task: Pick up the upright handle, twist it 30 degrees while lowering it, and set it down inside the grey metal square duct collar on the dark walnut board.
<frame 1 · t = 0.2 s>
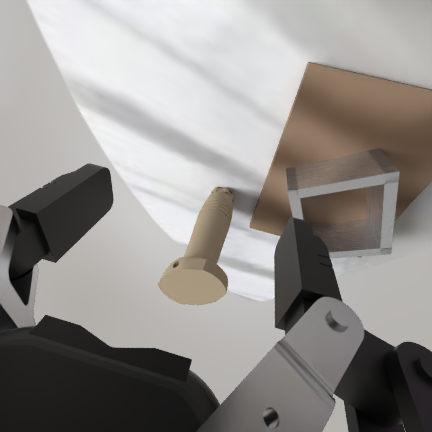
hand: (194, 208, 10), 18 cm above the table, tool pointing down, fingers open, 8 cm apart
walnut board: (339, 178, 26), on the table
handle: (222, 194, 31), on the table
duct collar: (330, 192, 28), resting on walnut board
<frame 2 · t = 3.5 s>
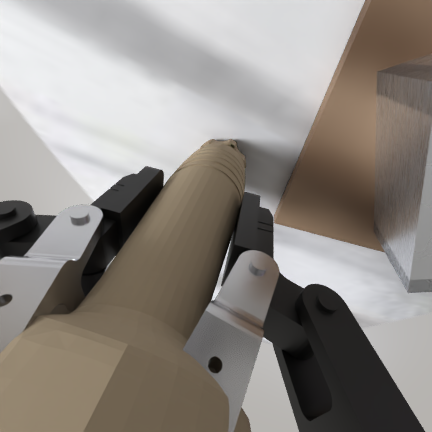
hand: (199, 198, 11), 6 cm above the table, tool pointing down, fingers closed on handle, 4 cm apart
handle: (223, 157, 16), on the table, touching gripper
when the fingers open (9 cm above the table, at t = 10.3 s): handle drops 1 cm, resting on walnut board.
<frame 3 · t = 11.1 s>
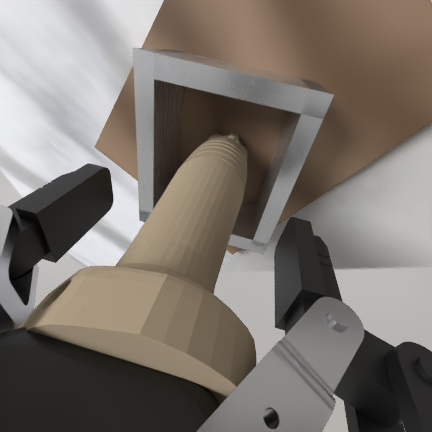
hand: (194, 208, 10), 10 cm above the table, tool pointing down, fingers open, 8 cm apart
walnut board: (246, 120, 16), on the table
handle: (226, 150, 17), point 1 cm above the table, touching walnut board
duct collar: (228, 140, 18), resting on walnut board
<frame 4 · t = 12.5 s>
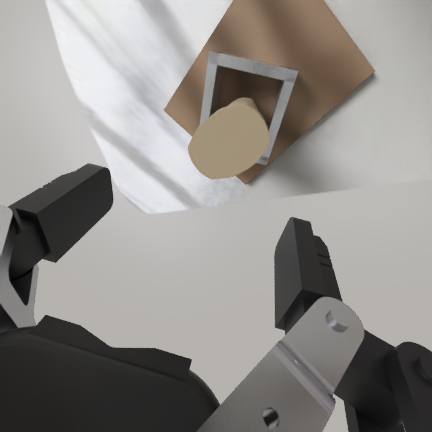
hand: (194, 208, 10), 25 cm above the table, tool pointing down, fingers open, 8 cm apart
walnut board: (256, 91, 29), on the table
handle: (244, 110, 30), point 1 cm above the table, touching walnut board
duct collar: (245, 104, 30), resting on walnut board
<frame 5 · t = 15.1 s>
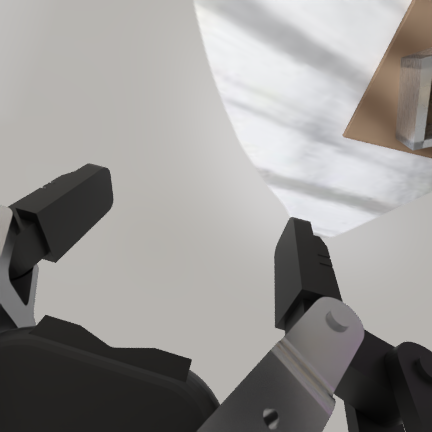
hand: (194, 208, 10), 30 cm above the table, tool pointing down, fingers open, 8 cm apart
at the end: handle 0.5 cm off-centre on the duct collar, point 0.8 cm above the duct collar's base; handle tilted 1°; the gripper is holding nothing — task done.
